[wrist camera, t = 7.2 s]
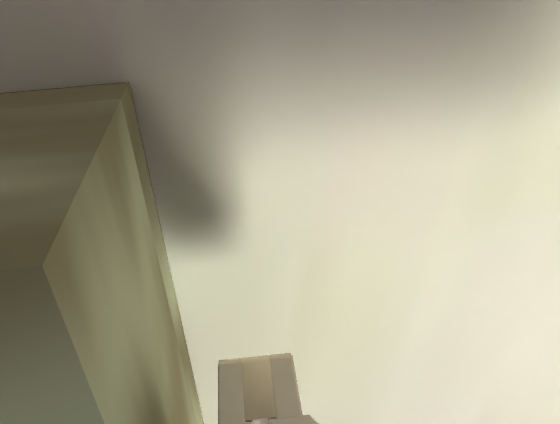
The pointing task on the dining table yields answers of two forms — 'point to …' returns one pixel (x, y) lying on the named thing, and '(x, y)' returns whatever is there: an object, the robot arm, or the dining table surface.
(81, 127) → the socket block
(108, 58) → the dining table surface
